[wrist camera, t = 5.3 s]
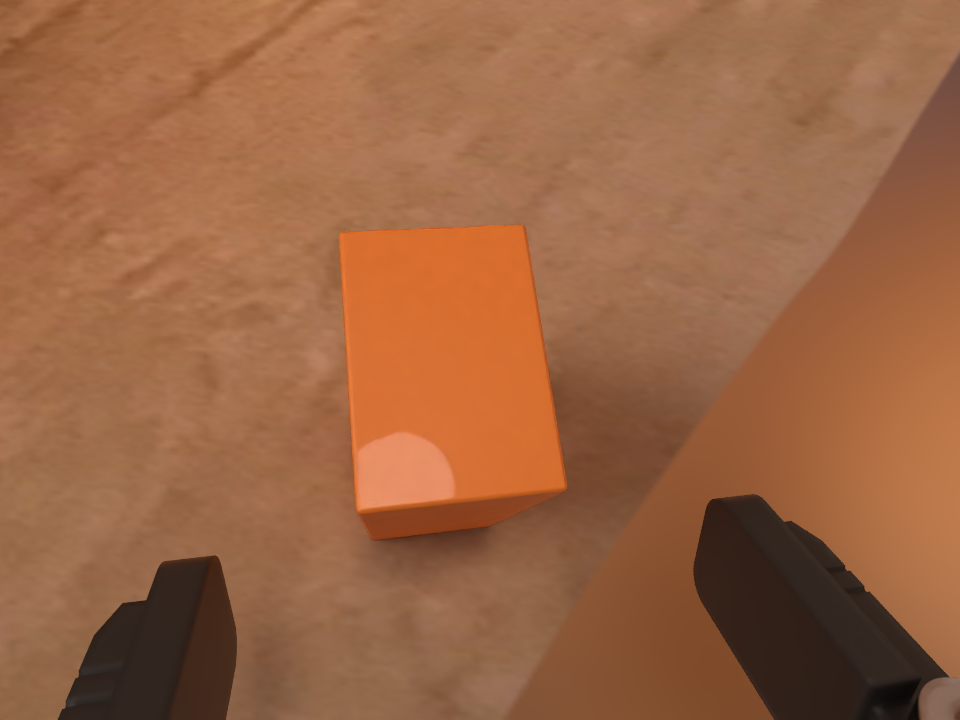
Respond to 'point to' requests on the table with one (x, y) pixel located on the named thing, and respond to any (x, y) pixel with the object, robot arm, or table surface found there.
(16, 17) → the table surface
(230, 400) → the table surface
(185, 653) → the robot arm
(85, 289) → the table surface
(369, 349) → the block
